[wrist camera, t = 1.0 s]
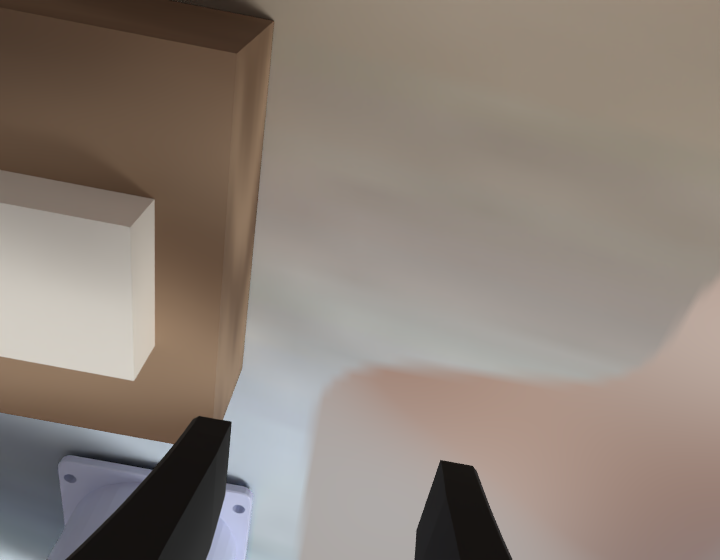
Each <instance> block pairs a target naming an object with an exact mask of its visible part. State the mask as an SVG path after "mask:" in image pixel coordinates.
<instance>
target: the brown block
mask: <svg viewBox="0 0 720 560" xmlns="http://www.w3.org/2000/svg"><path fill="white" fill-rule="evenodd" d="M273 29H274V21H272V20H267V19H262V18H257V17H252V16H247V15H241V14H236V13H231V12H226V11H221V10H216V9H211V8H206V7H201V6H196V5H190V4H185V3H180V2H175V1H170V0H0V170H3V171H8V172H14V173H19V174H24V175H30V176H35V177H40V178H45V179H51V180H56V181H61V182H66V183H72V184H77V185H82V186H87V187H93V188H98V189H103V190H108V191H114V192H119V193H124V194H130V195H135V196H140V197H145V198H151V199H155V346H154V348H153V350H152V351H151V353H150V355H149V356H148V358H147V360H146V362H145V363H144V365H143V367H142V368H141V370H140V372H139V373H138V375H137V377H136V379H135V380H134V381H131V380H126V379H120V378H115V377H110V376H104V375H99V374H93V373H88V372H82V371H77V370H72V369H66V368H61V367H55V366H50V365H44V364H39V363H34V362H28V361H23V360H17V359H12V358H6V357H1V356H0V412H1V413H6V414H12V415H17V416H23V417H28V418H34V419H39V420H45V421H50V422H56V423H61V424H67V425H72V426H78V427H83V428H89V429H94V430H100V431H105V432H110V433H116V434H121V435H127V436H132V437H138V438H143V439H149V440H154V441H160V442H165V443H171V444H175V442H176V441H177V440H178V439H179V437H180V436H181V435H182V433H183V432H184V431H185V429H186V428H187V427H188V425H189V424H190V422H191V421H192V420H193V419H194V418H196V417H198V416H203V417H208V418H214V419H219V420H223V418H224V415H225V412H226V410H227V407H228V404H229V402H230V399H231V396H232V394H233V391H234V389H235V386H236V383H237V381H238V378H239V375H240V373H241V370H242V364H243V353H244V342H245V331H246V320H247V310H248V299H249V288H250V277H251V266H252V256H253V245H254V234H255V223H256V212H257V202H258V191H259V180H260V169H261V158H262V148H263V137H264V126H265V115H266V104H267V93H268V83H269V72H270V61H271V50H272V39H273Z"/></svg>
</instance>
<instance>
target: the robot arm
mask: <svg viewBox="0 0 720 560" xmlns="http://www.w3.org/2000/svg"><path fill="white" fill-rule="evenodd" d="M231 423H232V422H230V421H225V420H219V419H214V418H208V417H203V416H198V417H196V418H194V419H193V420H192V421H191V422H190V424H189V425H188V427H187V428H186V429H185V431H184V432H183V433H182V435H181V436H180V437H179V439H178V440H177V441H176V442H175V444H174V445H173V446H172V448H171V449H170V450H169V451H168V452H167V454H166V455H165V456H164V457H163V458H162V460H161V461H160V462H159V463H158V464H157V466H156V467H155V468H154V469H153V470H151V469H145V468H140V467H134V466H129V465H123V464H118V463H112V462H107V461H101V460H96V459H90V458H85V457H79V456H74V455H67V456H64V457H63V458H62V459H61V461H60V462H59V464H58V474H59V482H60V490H61V499H62V507H63V515H64V524H65V528H64V529H63V531H62V533H61V535H60V537H59V538H58V540H57V542H56V544H55V545H54V547H53V549H52V551H51V553H50V554H49V556H48V558H47V560H246V553H247V545H248V537H249V529H250V520H251V512H252V504H253V493H252V491H251V490H250V489H248V488H247V487H244V486H239V485H233V484H228V483H226V481H227V469H228V458H229V446H230V434H231ZM415 560H512V558H511V555H510V553H509V551H508V549H507V547H506V544H505V542H504V540H503V538H502V535H501V533H500V530H499V528H498V526H497V523H496V521H495V518H494V516H493V513H492V511H491V509H490V506H489V503H488V501H487V498H486V495H485V493H484V490H483V487H482V485H481V482H480V479H479V476H478V473H477V471H476V470H475V469H474V467H473V466H470V465H464V464H458V463H453V462H448V461H442V460H440V463H439V466H438V469H437V472H436V475H435V478H434V481H433V484H432V487H431V490H430V493H429V495H428V499H427V501H426V504H425V507H424V510H423V513H422V516H421V519H420V522H419V525H418V528H417V533H416V547H415Z"/></svg>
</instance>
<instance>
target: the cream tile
mask: <svg viewBox="0 0 720 560" xmlns="http://www.w3.org/2000/svg"><path fill="white" fill-rule="evenodd" d="M154 346H155V199H151V198H145V197H140V196H135V195H130V194H124V193H119V192H114V191H108V190H103V189H98V188H93V187H87V186H82V185H77V184H72V183H66V182H61V181H56V180H51V179H45V178H40V177H35V176H30V175H24V174H19V173H14V172H8V171H3V170H0V356H1V357H6V358H12V359H17V360H23V361H28V362H34V363H39V364H44V365H50V366H55V367H61V368H66V369H72V370H77V371H82V372H88V373H93V374H99V375H104V376H110V377H115V378H120V379H126V380H131V381H134V380H135V379H136V377H137V375H138V373H139V372H140V370H141V368H142V367H143V365H144V363H145V362H146V360H147V358H148V356H149V355H150V353H151V351H152V350H153V348H154Z"/></svg>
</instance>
